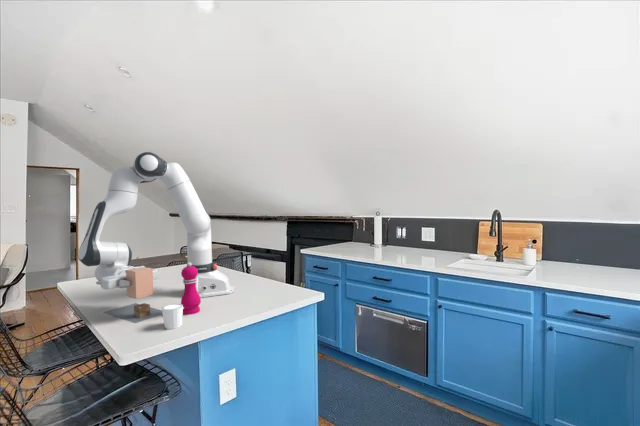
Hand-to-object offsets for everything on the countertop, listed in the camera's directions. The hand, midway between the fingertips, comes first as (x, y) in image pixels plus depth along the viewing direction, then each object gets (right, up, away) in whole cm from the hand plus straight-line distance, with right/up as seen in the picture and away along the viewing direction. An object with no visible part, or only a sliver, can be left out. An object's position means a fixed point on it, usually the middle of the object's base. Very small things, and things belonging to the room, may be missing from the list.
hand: (141, 281), depth 127 cm
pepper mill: (+18, -13, +4) cm, 23 cm away
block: (0, -13, +1) cm, 14 cm away
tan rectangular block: (-1, -6, +1) cm, 6 cm away
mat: (-5, -14, +5) cm, 16 cm away
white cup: (+17, -14, -10) cm, 24 cm away
